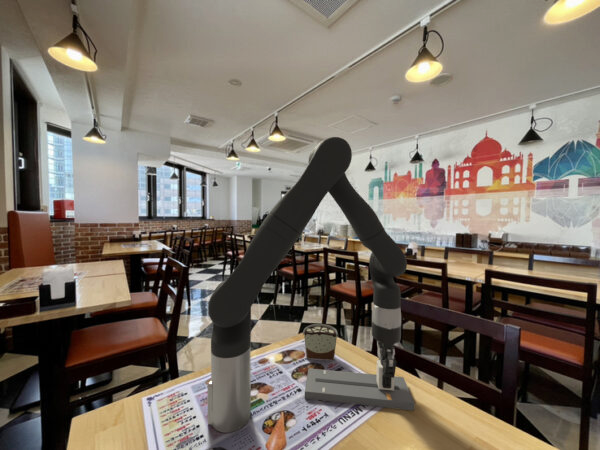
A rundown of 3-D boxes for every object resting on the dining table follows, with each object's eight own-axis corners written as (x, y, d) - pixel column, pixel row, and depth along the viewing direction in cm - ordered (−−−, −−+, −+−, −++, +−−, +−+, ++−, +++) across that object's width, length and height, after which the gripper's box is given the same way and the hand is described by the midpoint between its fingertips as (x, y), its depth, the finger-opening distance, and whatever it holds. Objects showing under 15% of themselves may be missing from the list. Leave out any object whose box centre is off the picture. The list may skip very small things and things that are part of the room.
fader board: (304, 398, 65) (304, 390, 65) (308, 374, 75) (308, 368, 75) (414, 410, 62) (414, 402, 61) (403, 383, 71) (403, 376, 71)
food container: (337, 351, 89) (337, 324, 88) (338, 361, 83) (338, 332, 82) (303, 349, 90) (303, 322, 90) (302, 358, 84) (302, 330, 83)
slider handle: (378, 389, 66) (379, 367, 66) (376, 380, 69) (376, 359, 69) (394, 390, 65) (394, 368, 65) (391, 381, 69) (391, 361, 68)
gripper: (368, 310, 74) (367, 365, 75) (376, 331, 60) (375, 399, 61) (394, 311, 73) (393, 367, 74) (408, 334, 59) (406, 403, 60)
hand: (385, 381), depth 67 cm, fingers closed on slider handle, 3 cm apart
